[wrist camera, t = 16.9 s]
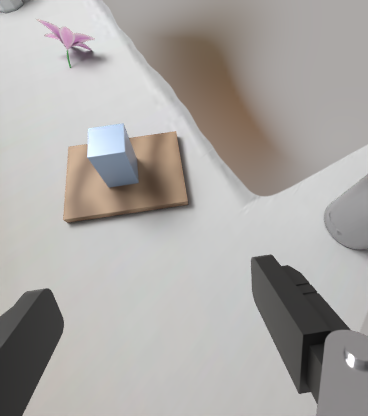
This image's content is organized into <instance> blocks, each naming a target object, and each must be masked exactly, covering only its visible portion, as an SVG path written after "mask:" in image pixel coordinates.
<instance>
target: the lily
mask: <svg viewBox="0 0 368 416" xmlns="http://www.w3.org/2000/svg"><path fill="white" fill-rule="evenodd" d="M37 20H38V21H39V22H40V23H42V24H43V25H45V26H46V27H47V28H48V29H50V30H51V31H52V32H53V33H54V34H52V33H49V34H45V35H44V36H46V37H51V38H55V39H59V40H60V41H61V42H62V43H63V44H64V46H65V47H66V49H67V57H68V62H69V66H70V68H71V65H70V61H69V56H68V49H69V48H71V47H73V46H80V47H83V48H86V49H88V50H91V49H90V48H89V47H88V46H87V45H85V44H83V42H86V41H89V40H94V38H93V37H90V36H87V35H84V34H80V33H73V32H72V31H71V30H70V29H68V28H67V27H62V28H58V27H57V26H55V25H53V24H51V23H49V22H46V21H43V20H39V19H37ZM91 51H92V50H91Z"/></svg>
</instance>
